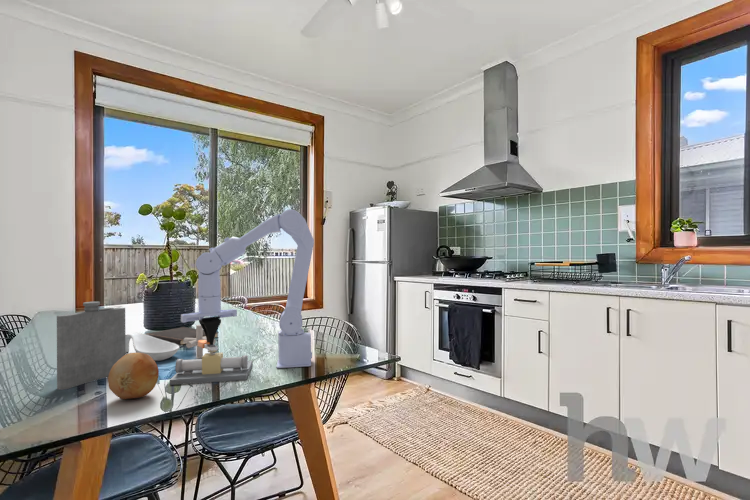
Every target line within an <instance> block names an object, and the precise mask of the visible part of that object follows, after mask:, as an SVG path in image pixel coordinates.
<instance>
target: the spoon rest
mask: <svg viewBox="0 0 750 500" xmlns="http://www.w3.org/2000/svg"><path fill="white" fill-rule="evenodd" d="M146 334H147V333H143V332H134V333H128V334H127V333H126V334H125V346H126V354H128V353H129V352H130V341H131V340H132V345H133V348H134V351H135V353H144V354H147V355H149V356H150V357H151V358H152V359H153V360H154V361H155V362H161V361H166V360H168V359H169V358H171V357H173V356H174V355H176V353H177V352H178V351H179V350H180V345H177V344H175V343H171V342H168V341H164V340H161V339H158V338H155V337H152V336H149V335H146Z"/></svg>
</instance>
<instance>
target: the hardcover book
mask: <svg viewBox="0 0 750 500" xmlns="http://www.w3.org/2000/svg"><path fill="white" fill-rule="evenodd" d="M145 334H146V335H149V336H152V337H155V338H158V339H161V340H164V341H168V342H171V343H175V344H177V345H178V346H182V345H186V344H185V343H183V340H184V338H196V328H193V327H185V326H180V327H175V328H171V329H170V328H169V329H165V330H159V331H153V332H147V333H145ZM218 334H219V331H217V332H216V334H215V338H218ZM205 336H206V335H205V333H204V330H203V337H205Z"/></svg>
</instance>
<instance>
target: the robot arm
mask: <svg viewBox="0 0 750 500" xmlns="http://www.w3.org/2000/svg"><path fill="white" fill-rule="evenodd" d="M281 229H282V231H284V232H285V233H286V234H288V235H289V236H290V237H291V239H292V240H293V241H294V242H295V244H296V245H297V247H296V253H295V258H294V262H293V268H292V274H291V278H290V279H291V280H290V283H289V288H288V294H287V299H286V305H285V308H284V309H283V311H282V312H281V314H280V316H279V317H280V319H279V325H278V326H279V329H280V330H279V331H278V336H277V337H278V342H277V343H278V347H277V348H278V349H277V350H278V359H277V363H276V369H286V368H299V367H300V368H301V367H304V368H305V367H311V366H312V358H313V352H312V336H311V335H312V334H311V332H305V329H303V328H302V327H303V316H302V308H303V302H304V296H305V290H306V286H307V282H308V281H307V280H308V276H309V270H310V266H311V259H312V255H313V250H314V245H315V240H314V237H313V234H312V233H311V230H310V228H309V225H308V223H307V219H306V218H305V217H304V216H303V215H302V214H301V213H300V212H299V211H297V210H296V209H292V208H289V209H285V210H284V211H283V212H281V214H280V213H278V214H275V215H273V216H271V217H270V218H267V219H266V220H264V221H263V222H261V223H260V224H258V225H257V226H256V227H253V229H250V230H249V231H248V232H246V233H245V234H244V235H242V236H241V237H237V236H231V237H229V236H227V237H225V238H224V239H223V242H222V243H219V244H218V245H217V246H214V247H210V248H208V251H209V252H208V251H207V252H205V251H204V252H202V253H201V254H200V255H199V256H198V257H197V258H196V261H195V267H196V269H197V270H198V274H197V275H198V280H197V283H198V284H197V285H198V286H197V288H198V289H197V292H198V294H197V295H198V300H197V301H198V312H190V313H183V314H180V322H181V323H187V322H197V321H198V323H199V325H201V326H202V328H203V330H204V333H205V335H206V338H207V341H208V342H209V343H210V345H213V342H214V339H215V338H216V337H215V334H216V332H218V329H219V327H220V326H221V323H222V319H221V318H230V317H238V310H237V309H236V308H233V309H232V308H231V309H222V303H221V301H222V299H221V298H222V297H221V296H222V295H221V293H222V292H221V289H222V288H221V275H220V274H221V273H220V270H221V269H222V267H223V266H227V265H229V264H230V263H232V262H233V261H235V260H237V259H238V258H240V257H241V256H243V255H245V253H246V248H248V247H249V246H250V245H252V244H254V243H256V242H257V241H259V240H260V239H262V238H264V237H266V236H268V235H269V234H274V233H281V232H282V231H281Z"/></svg>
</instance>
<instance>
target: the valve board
mask: <svg viewBox="0 0 750 500" xmlns="http://www.w3.org/2000/svg"><path fill="white" fill-rule="evenodd" d="M203 354H204V355H203V357H202V358H195V359H184V358H177V359H176V360H175V366H174V367H175V374H174V375H173V376H172V377H171V378H170V379H169V385H170V386H172V385H173V386H175V385H186V384H188V385H189V384H190V385H191V384H202V383H217V382H219V383H220V382H231V381H232V382H234V381H246V380H247V379H248V377H249V375H248V374H250V372H251V369H252V367H253V362H254V361H253V360H249V356H248V355H247V354H246V355H242V356H232V357H231V356H230V357H229V356H228V357H224V352H206V353H203Z"/></svg>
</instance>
